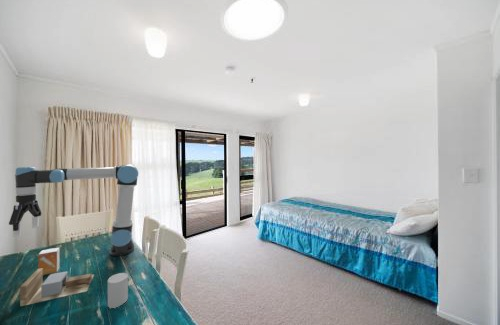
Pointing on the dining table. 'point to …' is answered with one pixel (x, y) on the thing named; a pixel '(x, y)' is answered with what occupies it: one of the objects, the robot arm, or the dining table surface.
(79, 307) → the dining table surface
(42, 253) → the small box
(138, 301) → the dining table surface
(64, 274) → the carriage
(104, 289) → the dining table surface
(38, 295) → the jig
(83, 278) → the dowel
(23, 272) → the dining table surface
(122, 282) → the light gray cylinder
